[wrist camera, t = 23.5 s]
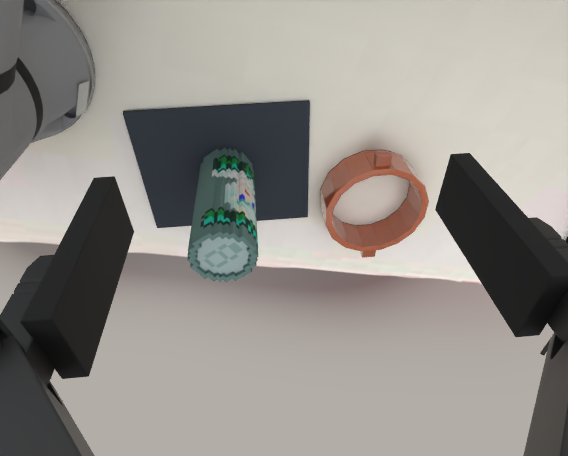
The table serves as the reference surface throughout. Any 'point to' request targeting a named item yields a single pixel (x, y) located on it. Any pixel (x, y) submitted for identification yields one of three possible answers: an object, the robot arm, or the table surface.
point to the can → (224, 217)
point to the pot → (384, 230)
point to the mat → (217, 135)
